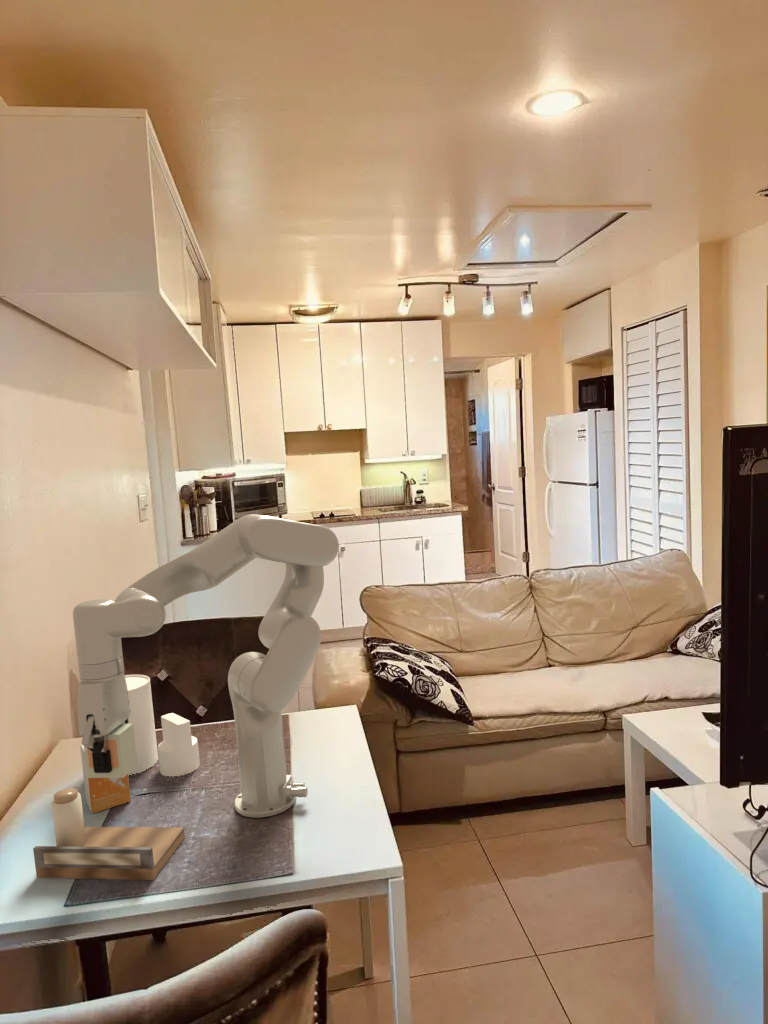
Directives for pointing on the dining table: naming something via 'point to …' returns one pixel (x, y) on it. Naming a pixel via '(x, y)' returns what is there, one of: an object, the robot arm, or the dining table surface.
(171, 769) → the base with upright slab
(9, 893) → the dining table surface
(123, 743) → the carton
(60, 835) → the jar
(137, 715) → the canister
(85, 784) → the small box
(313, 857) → the dining table surface
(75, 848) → the shelf
